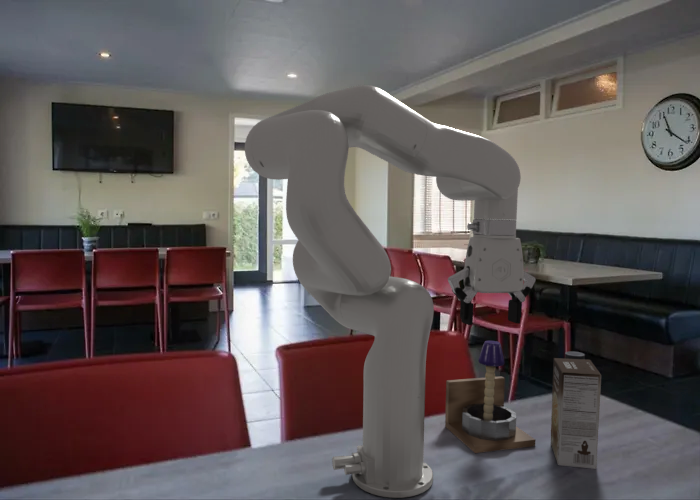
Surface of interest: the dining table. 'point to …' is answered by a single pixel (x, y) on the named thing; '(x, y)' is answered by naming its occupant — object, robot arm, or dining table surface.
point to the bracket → (473, 393)
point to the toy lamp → (490, 373)
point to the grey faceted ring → (489, 422)
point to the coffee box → (575, 412)
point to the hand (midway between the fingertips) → (490, 322)
